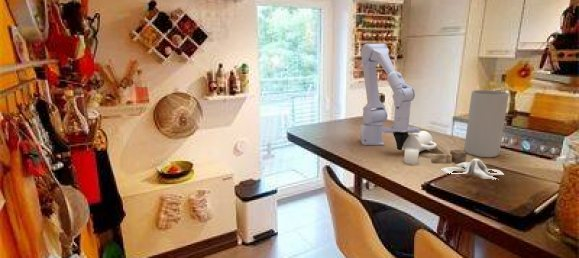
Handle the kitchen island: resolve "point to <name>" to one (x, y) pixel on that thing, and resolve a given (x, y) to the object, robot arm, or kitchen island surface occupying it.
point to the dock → (440, 155)
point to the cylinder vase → (486, 122)
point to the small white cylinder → (411, 156)
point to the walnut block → (458, 156)
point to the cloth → (474, 169)
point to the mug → (420, 141)
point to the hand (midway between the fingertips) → (399, 149)
